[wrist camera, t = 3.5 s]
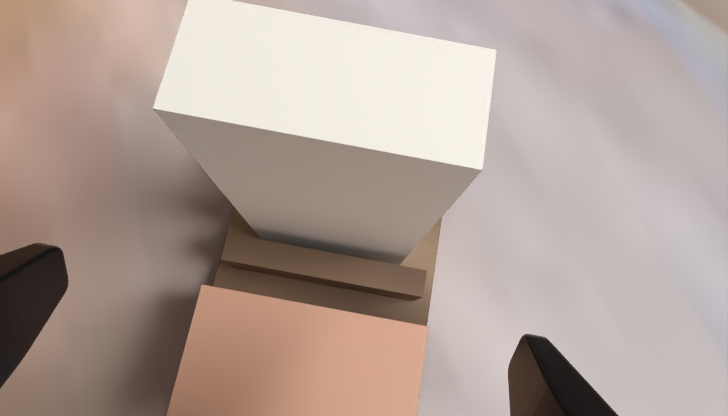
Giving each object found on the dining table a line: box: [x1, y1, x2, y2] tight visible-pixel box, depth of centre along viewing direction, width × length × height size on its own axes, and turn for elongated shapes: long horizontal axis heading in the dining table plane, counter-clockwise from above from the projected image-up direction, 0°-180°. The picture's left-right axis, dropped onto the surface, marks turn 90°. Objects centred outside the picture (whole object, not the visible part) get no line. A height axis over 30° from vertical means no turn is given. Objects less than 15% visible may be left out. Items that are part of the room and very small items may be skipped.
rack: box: [213, 207, 442, 326], centre depth 19 cm, size 12×9×3 cm
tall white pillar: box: [153, 0, 496, 265], centre depth 14 cm, size 2×6×12 cm, turn 79°
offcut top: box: [166, 285, 429, 416], centre depth 16 cm, size 5×8×2 cm, turn 79°
